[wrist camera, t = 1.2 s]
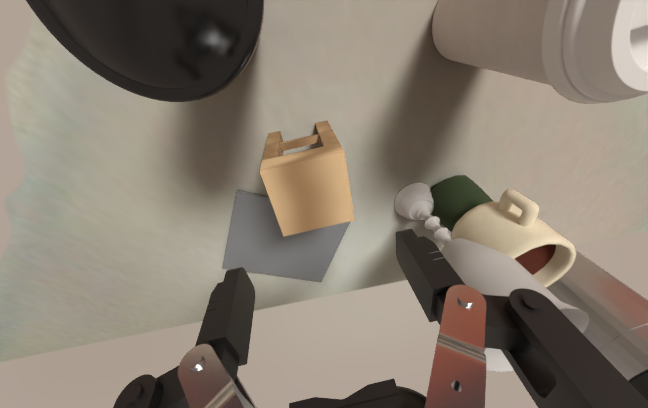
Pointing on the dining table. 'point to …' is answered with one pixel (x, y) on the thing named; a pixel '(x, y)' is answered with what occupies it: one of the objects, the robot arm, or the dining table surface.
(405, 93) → the dining table surface
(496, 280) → the chalice
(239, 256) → the mat
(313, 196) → the light wood stool
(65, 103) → the dining table surface
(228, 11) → the drinking cup
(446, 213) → the character mug
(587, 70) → the coffee cup
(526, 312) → the robot arm
